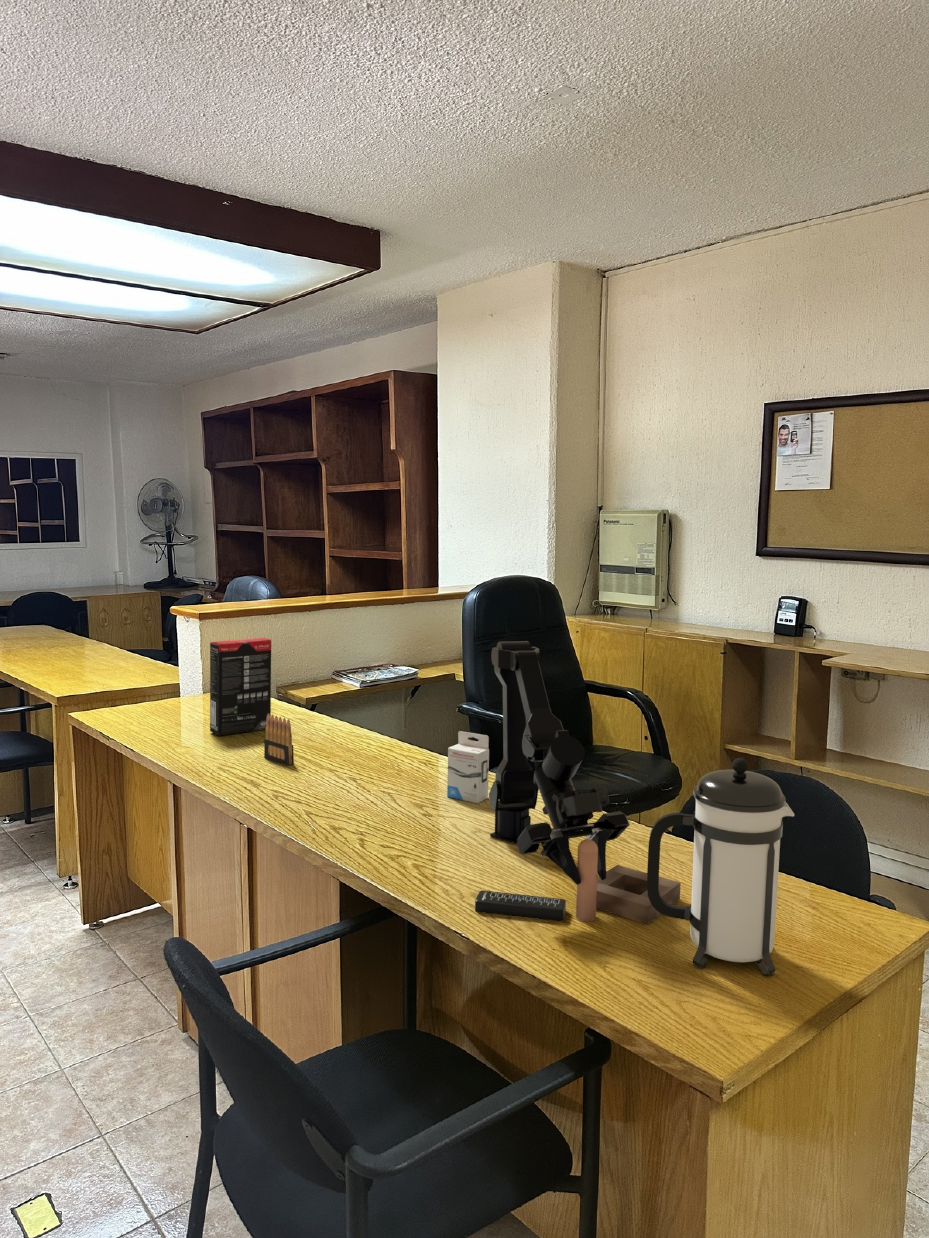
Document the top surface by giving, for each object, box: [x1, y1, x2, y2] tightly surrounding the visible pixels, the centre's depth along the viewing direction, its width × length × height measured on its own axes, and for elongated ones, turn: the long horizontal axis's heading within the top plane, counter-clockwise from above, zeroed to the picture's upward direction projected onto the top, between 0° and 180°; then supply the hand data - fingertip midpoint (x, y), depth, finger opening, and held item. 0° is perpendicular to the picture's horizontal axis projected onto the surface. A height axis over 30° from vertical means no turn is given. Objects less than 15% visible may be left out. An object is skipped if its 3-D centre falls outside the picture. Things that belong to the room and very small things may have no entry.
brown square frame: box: [596, 864, 682, 925], centre depth 150 cm, size 12×12×3 cm
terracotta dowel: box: [575, 838, 598, 923], centre depth 143 cm, size 3×3×13 cm
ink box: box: [446, 730, 490, 804], centre depth 203 cm, size 8×5×15 cm, turn 60°
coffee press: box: [646, 757, 795, 977], centre depth 130 cm, size 17×16×30 cm
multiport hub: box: [474, 889, 567, 922], centre depth 146 cm, size 4×14×2 cm, turn 77°
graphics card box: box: [209, 637, 272, 736], centre depth 261 cm, size 17×7×27 cm, turn 130°
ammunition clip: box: [263, 713, 295, 767], centre depth 231 cm, size 11×2×12 cm, turn 47°
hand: (591, 881), depth 142 cm, fingers open, 4 cm apart
